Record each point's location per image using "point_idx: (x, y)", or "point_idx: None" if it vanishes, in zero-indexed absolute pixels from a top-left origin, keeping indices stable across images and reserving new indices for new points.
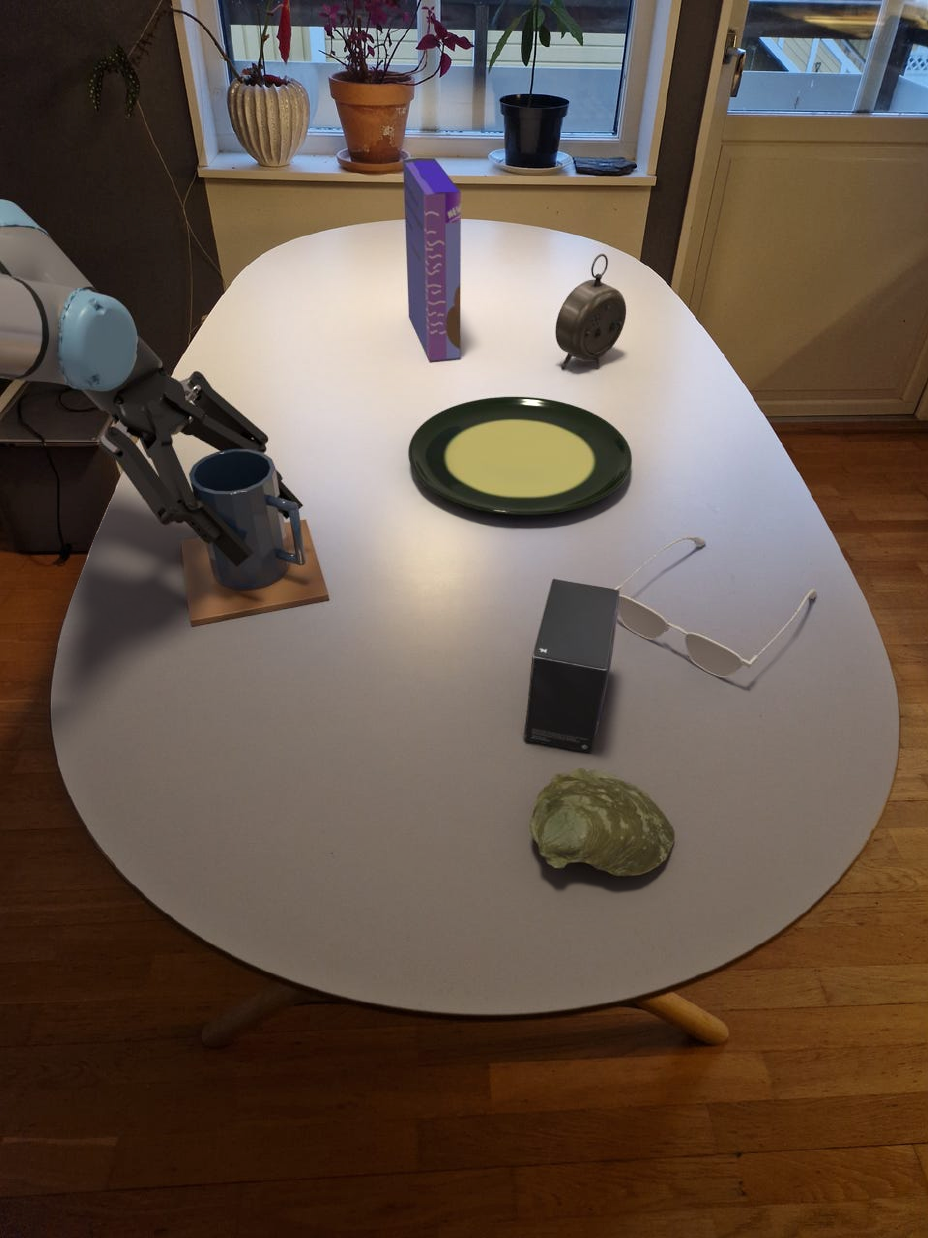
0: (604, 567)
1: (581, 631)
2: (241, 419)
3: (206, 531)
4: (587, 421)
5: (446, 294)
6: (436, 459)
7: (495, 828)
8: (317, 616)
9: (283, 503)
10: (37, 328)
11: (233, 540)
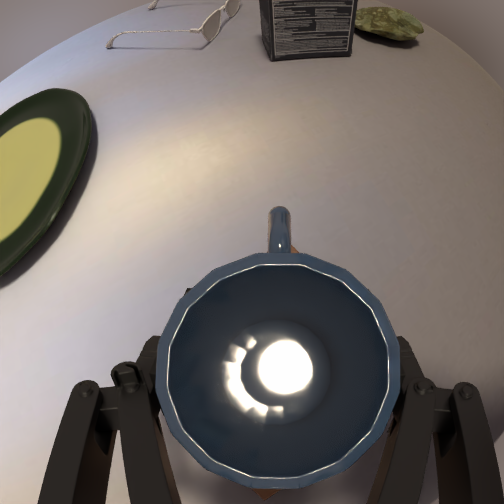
0: (142, 70)
1: None
2: (69, 448)
3: (411, 350)
4: None
5: None
6: (4, 247)
7: (413, 61)
8: (318, 239)
9: (286, 231)
10: None
11: None
